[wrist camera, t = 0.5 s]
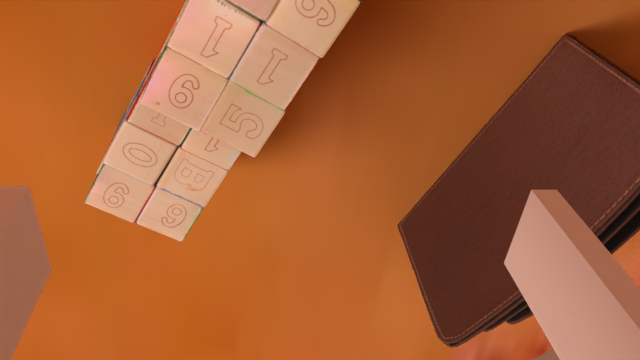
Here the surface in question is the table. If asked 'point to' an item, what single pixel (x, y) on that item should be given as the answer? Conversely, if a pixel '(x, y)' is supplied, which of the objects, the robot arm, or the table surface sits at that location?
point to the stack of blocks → (210, 104)
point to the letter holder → (527, 187)
